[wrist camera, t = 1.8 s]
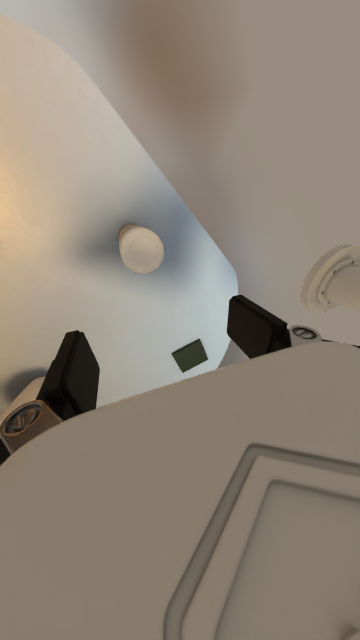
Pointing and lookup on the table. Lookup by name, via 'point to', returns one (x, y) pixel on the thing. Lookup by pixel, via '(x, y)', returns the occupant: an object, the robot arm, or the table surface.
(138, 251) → the sprinkles bottle
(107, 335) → the table surface
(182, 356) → the mat
